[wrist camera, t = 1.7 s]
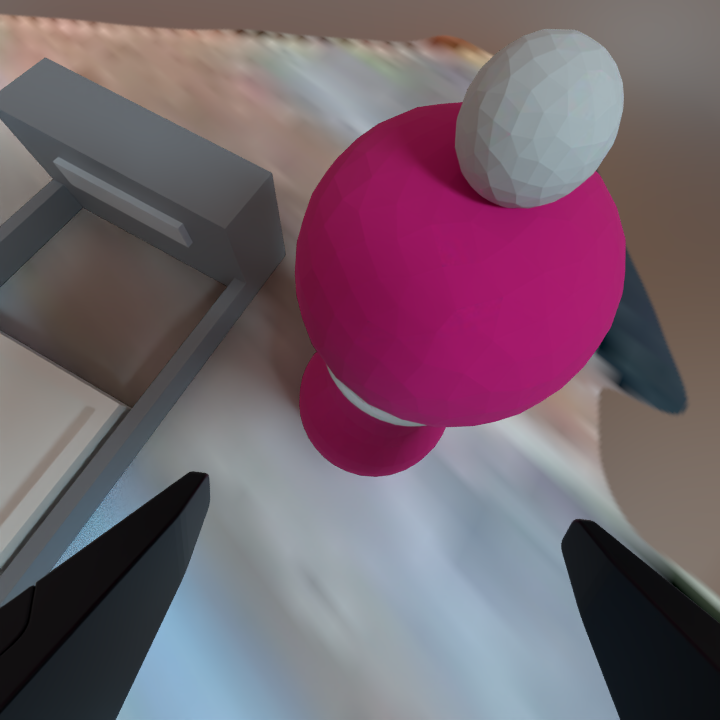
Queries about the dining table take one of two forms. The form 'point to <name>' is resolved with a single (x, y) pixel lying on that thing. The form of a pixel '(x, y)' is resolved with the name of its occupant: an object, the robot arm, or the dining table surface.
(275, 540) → the dining table surface
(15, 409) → the tray
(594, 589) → the robot arm
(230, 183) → the housing
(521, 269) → the pepper mill
